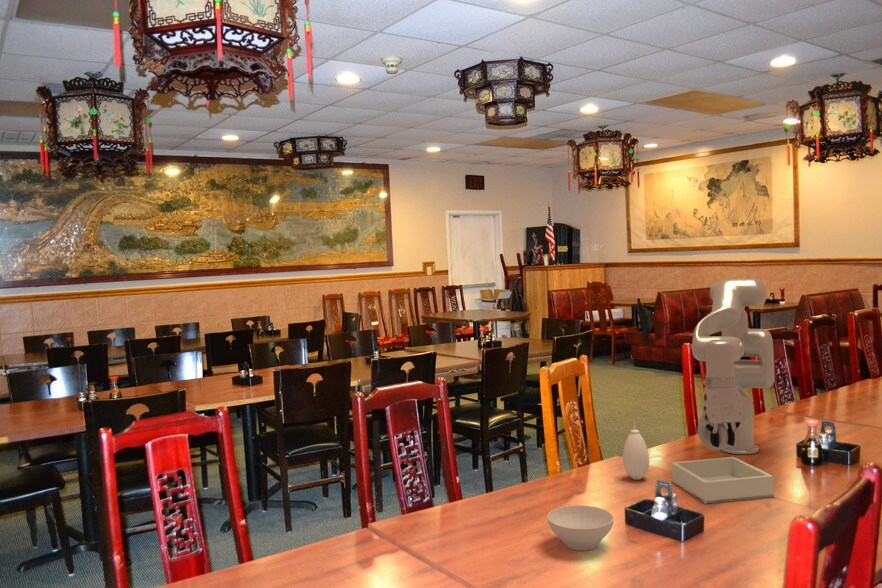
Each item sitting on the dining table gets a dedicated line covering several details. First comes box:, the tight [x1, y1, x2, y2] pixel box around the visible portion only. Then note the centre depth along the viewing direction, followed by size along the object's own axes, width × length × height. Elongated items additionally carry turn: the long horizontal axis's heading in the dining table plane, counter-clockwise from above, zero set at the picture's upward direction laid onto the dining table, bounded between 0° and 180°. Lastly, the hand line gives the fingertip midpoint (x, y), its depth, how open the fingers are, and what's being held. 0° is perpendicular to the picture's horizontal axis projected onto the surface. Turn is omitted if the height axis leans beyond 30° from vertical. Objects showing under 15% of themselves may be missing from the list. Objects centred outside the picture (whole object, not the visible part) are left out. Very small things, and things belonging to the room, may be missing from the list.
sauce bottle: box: [622, 421, 650, 481], centre depth 219 cm, size 8×8×18 cm
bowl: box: [546, 504, 614, 552], centre depth 171 cm, size 16×16×7 cm
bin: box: [670, 456, 775, 505], centre depth 205 cm, size 20×20×6 cm
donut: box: [697, 421, 728, 451], centre depth 206 cm, size 10×3×10 cm, turn 29°
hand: (722, 444), depth 203 cm, fingers closed on donut, 4 cm apart
